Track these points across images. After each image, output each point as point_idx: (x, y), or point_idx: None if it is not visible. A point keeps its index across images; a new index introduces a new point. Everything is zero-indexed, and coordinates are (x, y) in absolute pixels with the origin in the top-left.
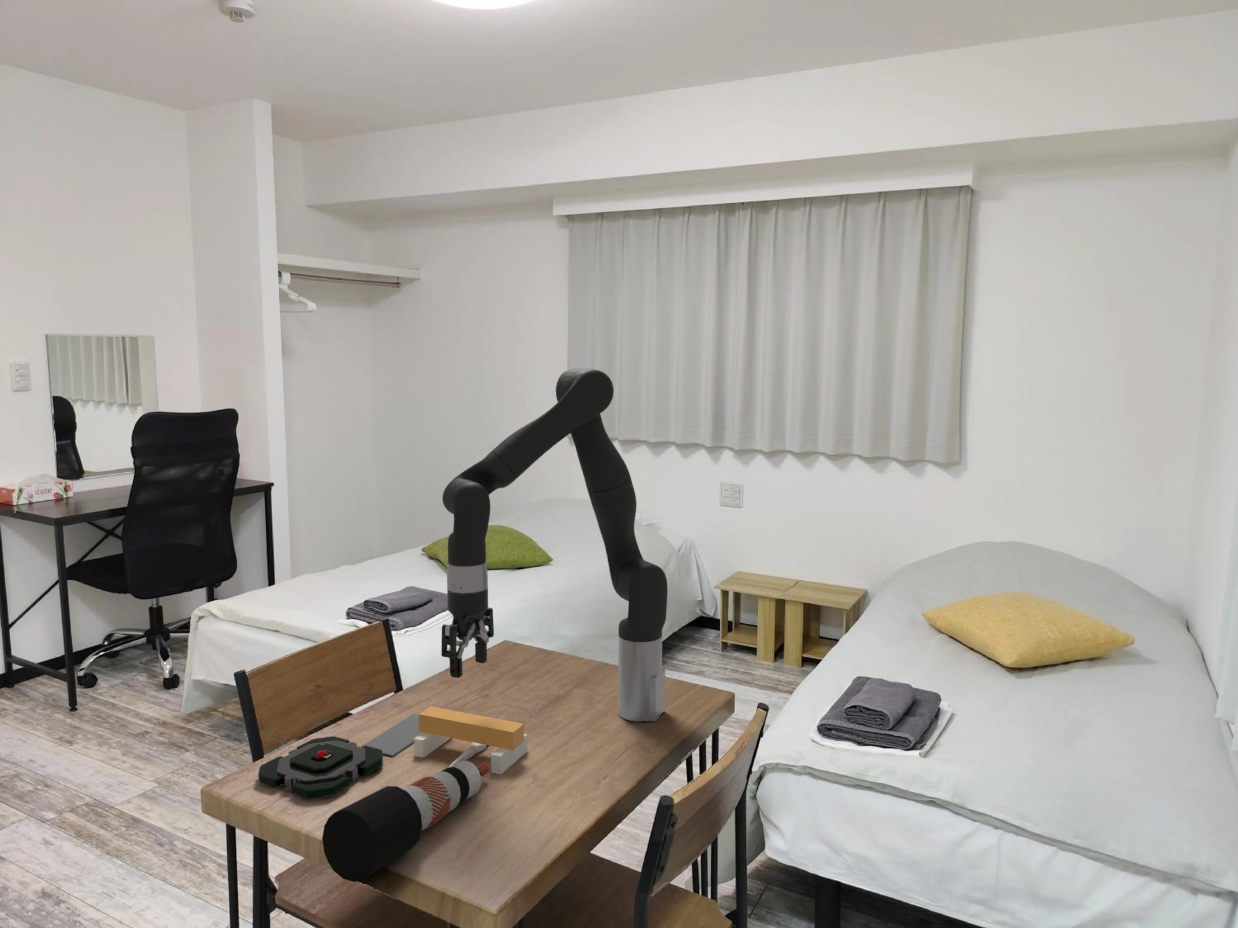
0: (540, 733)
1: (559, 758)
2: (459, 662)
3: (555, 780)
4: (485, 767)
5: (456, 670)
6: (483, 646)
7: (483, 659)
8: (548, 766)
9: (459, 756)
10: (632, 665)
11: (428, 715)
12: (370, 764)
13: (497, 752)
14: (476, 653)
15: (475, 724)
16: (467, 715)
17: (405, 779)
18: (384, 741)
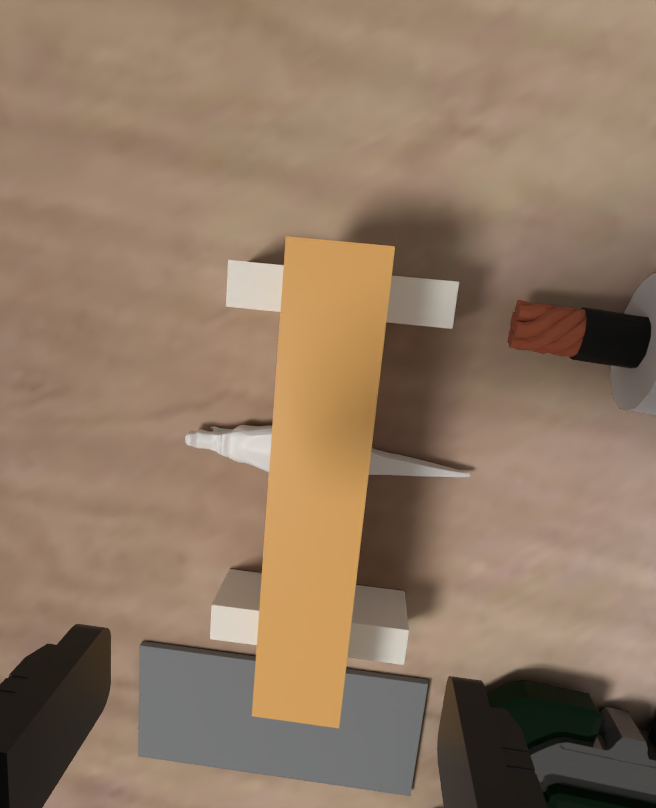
0: (89, 277)
1: (258, 109)
2: (512, 798)
3: (436, 45)
4: (542, 309)
5: (519, 750)
6: (21, 750)
7: (93, 653)
8: (335, 125)
9: (394, 473)
10: None
11: (339, 686)
12: (573, 712)
13: (427, 310)
14: (73, 748)
15: (365, 460)
16: (285, 535)
17: (560, 575)
18: (346, 748)
